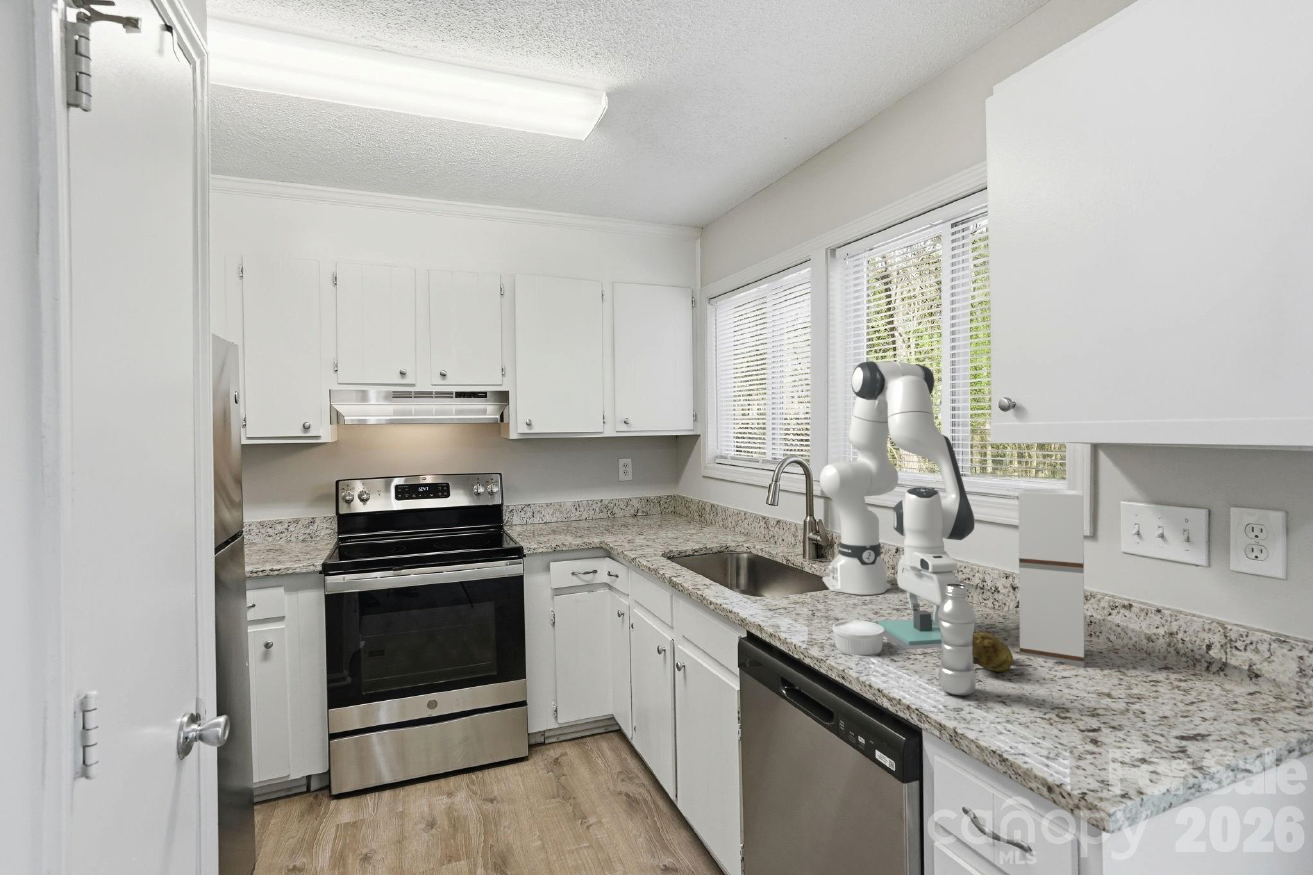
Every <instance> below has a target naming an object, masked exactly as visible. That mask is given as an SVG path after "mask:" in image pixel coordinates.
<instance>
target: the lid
mask: <svg viewBox="0 0 1313 875" xmlns="http://www.w3.org/2000/svg"><path fill="white" fill-rule="evenodd" d="M912 613H913V618H912V619H902V620H901V619H898V620H883V621H881V622H880V621H877V622H878V624H879V625H881V626H882V627H883V628H884V629H885V630H887V631H888V632H890V633H891V634H893V635H894V636H896V637H897V638H899V639H901V640H902V641H904V642H905V643H907V644H908V645H915V644H931V643H942V641H941V630H940V624H939V622H938V623H936V622H934V621H932V620H931V612H929V611H928V610H926V609H923V610H921V609H920V611H912Z"/></svg>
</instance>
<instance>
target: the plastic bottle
mask: <svg viewBox="0 0 1313 875" xmlns="http://www.w3.org/2000/svg"><path fill="white" fill-rule="evenodd" d="M945 595H947V598H946V599H945V600H944V602H943V603H942V604H941V606H940V607H939V611H938V617H939V624H940V630H941V641H942V647H941V651H940V652H941V654H940V664H939V669H938V675H937V676H938V681H939V685H940V687H941V689H942V690H943V691H944V692H945V693H948V694H951V695H956V696H970V695H972V694H973V692H974V691H975V690H976V687H977V675H976V670H975V666H974V665H975V664H974V663H973V653H972V647H973V646H972V644H973V635H974V632H975V625H976V624H975V622H976V614H975V610H974V608H973V607H972V605H971V603H969V601H968V599H967V597H968V587H967V585H966V584H963V583H958V582H957V583H948V584H946V591H945Z"/></svg>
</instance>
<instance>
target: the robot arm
mask: <svg viewBox="0 0 1313 875" xmlns="http://www.w3.org/2000/svg"><path fill="white" fill-rule="evenodd" d="M851 375H852V376H851V389H852V392H853V393H854V394H855V396H856V398H855V401H854V405H853V408H852V413H851V419H850V423H849V424H850V425H849V428H848V435H847V439H848V442H849V443H850V444H851V445H852V446H853V447H854V448H855V449H857V458H856V460H844V461H839V460H838V461H836V462H833V463H829V464H826V465H825V466H824V467H823V468H822V469H821V471H820V475H819V485H820V488H821V490H822V491H823V493H824V494H825V495H826V496H827V497H829V498H830V499H831V501H832V502H833V504H834V505H835V508H836V510H837V514H838V516H839V524H840V525H839V526H840V542H838V543H839V544H838V552H837V553H838V554H837V556H835V558H833V560H832V561H831V562H830V564H829V565H827V570H826V571H827V574H829V575H826V576H823V577H822V582H824V584H825V586H826V587H827V588H828V589H829V590H830V591H831V592H837V593H844V594H845V593H846V594H851V595H863V596H864V595H866V596H867V595H879V594H882V593H885V592H886V591H887V590H889V589H891V588H892V587H891V586H892V585H891V583H888V581H887V570H886V562H885V560H884V559H882V557H881V555H882V544H881V542H880V520H879V517H878V515H877V514H876V513H875V512H873V511H872V510H870V509H869V508H868V506H867V503H866V500H865V499H866V497H874V496H875V497H876V496H881V495H884V494H888V493H891V492H893V491H894V490H895V489H896V487H897V486H898V482H899V474H898V473H899V472H898V470H897V468H896V466H895V465H894V464H893V463H892V462H891V460H890V457H889V453H888V440H889V439H888V438H889V436H890V440H891V441H892V442H893V443H894V444H895V445H896V446H897V447H899V448H900V449H901V450H903V451H905V452H908V453H909V454H913V455H916V456H919V457H922V458H924V459H927V460H929V461H930V462H932V463H934V464H935V465H936V467H937V468H938V469H939V471H940V476H941V480H942V482H943V487H944V491H945V494H946V497H945V498H941V494H940V491H938V490H937V489H934V488H931V487H922V486H920V487H916V486H915V487H911V488H908V489H907V490H905V493H904V499H901V500H899V501H898V502H897V503H896V504H895V505H894V506H893V508H892V510H893V529H894V531H896V532H897V533H898V534H899V535H900V536H902V537H904V540H903V553H902V555H900V560H898V564H897V579H896V582H897V586H898V588H900V589H902V590H903V591H906V596H907V599H908V602H909V609H910V611H911V612H913V611H921V608H920V607H921V605H920V603H919V602H918V597H919V598H922V599H924V600H926V601H928V602H930V603H932V607H933V608H934V609H933V612H932V613H931V612H930V613H931V620H932V621H934V622H936V623H938V622H939V617H938V611H939V607H940V606H941V604H942V603H943V602H944V600H945V599H946V598H947V595H945V591H946V584H948V583H958V580H957V576H956V574H955V572H956V571H957V570H958V562H956V560H954V558H953V557H951V556H950V555H949V554H948V552H947V551H945V543H944V542H945V541H944V540H943V539H946V540H954V541H955V540H956V541H962V540H964V539H965V538H967V537H968V536H969V535H971V534H972V533H973V531H974V530H975V524H976V523H975V521H976V520H975V514H974V511H973V508H972V506H971V503H970V500H969V497H968V494H967V492H966V488H965V484H964V480H963V478H962V475H961V470H960V467H959V464H958V460H957V457H956V453H955V451H954V448H953V444H952V442H951V440H950V439H949V437H948V436H946V435H944V434H942V432H940V430H939V429H938V427H937V425H936V423H935V418H934V408H933V402H932V396H931V395H932V393H933V391H934V388H935V376H934V373H933V371H932V370H931V368H929V367H928V366H924V365H921V364H919V363H917V364H916V363H915V364H913V363H908V362H901V361H877V362H876V361H873V360H871V361H864V362H860V363H859V364H858V365H857V366H856V367H854V370H853V372H852V374H851Z"/></svg>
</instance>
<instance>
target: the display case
mask: <svg viewBox="0 0 1313 875" xmlns="http://www.w3.org/2000/svg"><path fill="white" fill-rule="evenodd" d="M1021 490H1022V492H1018V494H1017V495H1018V496H1017V497H1018V505H1017V506H1018V584H1019V585H1018V586H1019V587H1018V588H1019V589H1018V594H1019V595H1018V596H1019V606H1018V607H1019V608H1018V609H1019V655H1021V656H1025V657H1026V656H1027V657H1032V658H1039V659H1046V660H1052V661H1054V662H1052V663H1053V664H1061V665H1066V666H1071V667H1072V666H1073V667H1079V668H1085V648H1086V647H1085V562H1084V561H1085V554H1084V552H1085V551H1084V549H1085V546H1084V545H1085V543H1084V542H1085V540H1084V539H1085V538H1084V536H1085V535H1084V534H1085V532H1084V524H1085V522H1084V489H1058V488H1057V489H1053V488H1025V487H1024V488H1022V489H1021ZM1055 661H1056V662H1055Z"/></svg>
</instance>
